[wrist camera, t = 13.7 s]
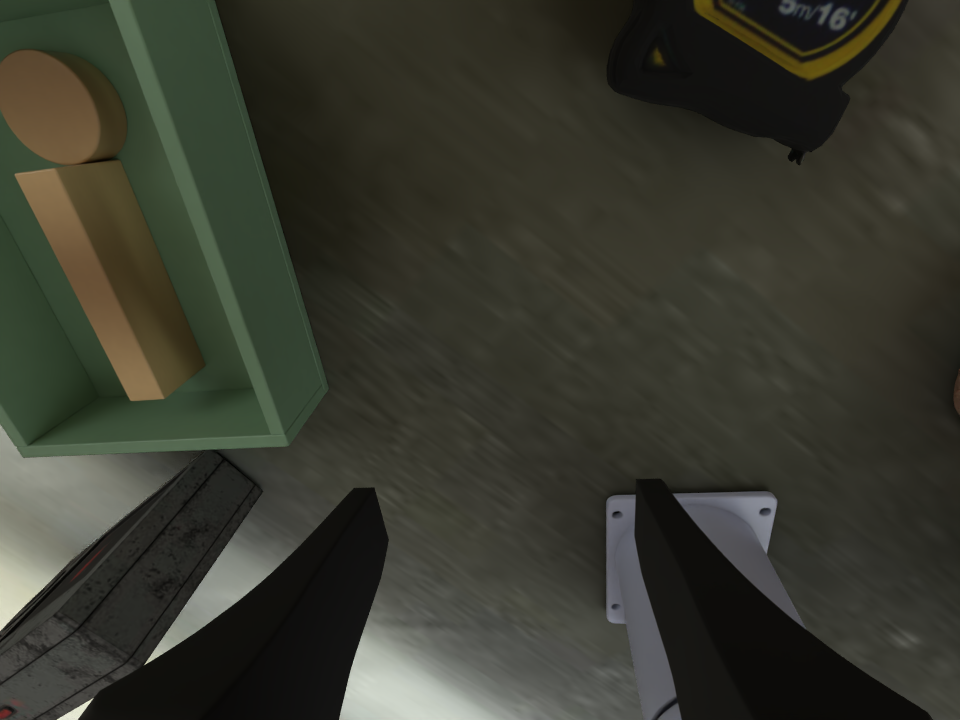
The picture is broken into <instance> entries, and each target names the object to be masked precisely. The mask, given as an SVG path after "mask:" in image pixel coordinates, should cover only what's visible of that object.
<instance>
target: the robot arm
mask: <svg viewBox="0 0 960 720" xmlns="http://www.w3.org/2000/svg"><path fill="white" fill-rule="evenodd" d="M776 507H777V499H776V498H775V496H774V495H773V493H771V492H768V491H751V492H714V493H677V494H672V492H671V491H670V490H669V488H668V487H667V485H666V484H665V483H664V482H663V481H662V480H661V479H636V495H614V496H611V497H609V498H608V499H607V502H606V614H607V619H608V620H609V621H610V622H612V623H626V627H627V632H628V637H629V643H630V648H631V653H632V659H633V664H634V669H635V675H636V680H637V685H638V691H639V696H640V701H641V707H642V712H643V717H644V720H933V719H932V718H931V716H930V715H929V714H928V712H926V711H925V710H923V709H921V708H920V707H918V706H917V705H915V704H913V703H912V702H910V701H909V700H907V699H906V698H904V697H902V696H901V695H899V694H898V693H896V692H894V691H893V690H891V689H890V688H888V687H887V686H885V685H883V684H882V683H880V682H879V681H877V680H875V679H874V678H872V677H871V676H869V675H868V674H866V673H865V672H863V671H862V670H860V669H859V668H858V667H856V666H855V665H853V664H852V663H850V662H849V661H848V660H846V659H845V658H843V657H842V656H840V655H839V654H838V653H836V652H835V651H833V650H832V649H831V648H829V647H828V646H827V645H826V644H824V643H823V642H822V641H820V640H819V639H818V638H816V637H815V636H814V635H813V634H811V633H810V632H809V631H807V630H806V628H805V626H804V624H803V622H802V620H801V619H800V617H799V615H798V613H797V611H796V609H795V607H794V605H793V603H792V602H791V600H790V598H789V596H788V594H787V592H786V590H785V588H784V586H783V585H782V583H781V581H780V579H779V577H778V575H777V573H776V571H775V569H774V568H773V566H772V564H771V562H770V560H769V558H768V556H767V551H768V546H769V541H770V536H771V531H772V526H773V521H774V517H775V512H776ZM763 508H765V509H764V510H761V509H763ZM616 511H620V512H619V513H614V512H616ZM388 541H389V539H388V535H387V532H386V528H385V525H384V521H383V517H382V514H381V510H380V506H379V503H378V499H377V495H376V492H375V488H354V489H353V490H352V491H351V492H350V493H349V494H348V495H347V496H346V497H345V498H344V499H343V500H342V501H341V502H340V503H339V505H338V506H337V507H336V508H335V509H334V510H333V511H332V512H331V513H330V514H329V515H328V517H327V518H326V519H325V520H324V521H323V522H322V523H321V524H320V525H319V526H318V527H317V528H316V529H315V530H314V531H313V533H312V534H311V535H310V536H309V537H308V538H307V539H306V540H305V541H304V542H303V543H302V544H301V545H300V546H299V547H298V548H297V549H296V550H295V551H294V552H293V553H292V554H291V555H290V556H289V557H288V558H287V559H286V560H285V561H284V562H283V563H282V564H280V565H279V566H278V567H277V568H276V569H275V570H274V571H273V572H272V573H271V574H270V575H269V576H268V577H266V578H265V579H264V580H263V581H262V582H261V583H260V584H258V585H257V586H256V587H255V588H254V589H252V590H251V591H250V592H249V593H248V594H246V595H245V596H244V597H243V598H242V599H240V600H239V601H238V602H237V603H235V604H234V605H233V606H231V607H230V608H229V609H227V610H226V611H225V612H223V613H222V614H220V615H219V616H218V617H216V618H215V619H214V620H212V621H211V622H210V623H208V624H207V625H206V626H204V627H203V628H202V629H200V630H199V631H197V632H196V633H194V634H193V635H191V636H190V637H188V638H187V639H185V640H184V641H182V642H181V643H179V644H178V645H176V646H175V647H173V648H171V649H170V650H168V651H167V652H165V653H164V654H162V655H160V656H159V657H157V658H156V659H154V660H152V661H151V662H149V663H147V664H146V665H144V666H142V667H140V668H139V669H137V670H135V671H133V672H132V673H130V674H128V675H126V676H125V677H123V678H121V679H119V680H118V681H116V682H114V683H112V684H111V685H109V686H107V687H105V688H103V689H101V690H100V691H99V692H98V693H97V695H96V696H95V697H94V698H93V700H92V701H91V703H90V704H89V705H88V707H87V708H86V709H85V711H84V712H83V713H82V715H81V716H80V718H79V719H78V720H339V717H340V712H341V708H342V704H343V700H344V695H345V691H346V687H347V683H348V678H349V674H350V670H351V667H352V664H353V660H354V657H355V653H356V651H357V648H358V645H359V642H360V639H361V636H362V633H363V630H364V627H365V624H366V621H367V618H368V615H369V612H370V609H371V606H372V603H373V600H374V597H375V594H376V591H377V588H378V585H379V582H380V579H381V576H382V571H383V567H384V562H385V557H386V552H387V546H388Z"/></svg>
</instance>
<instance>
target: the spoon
mask: <svg viewBox="0 0 960 720" xmlns="http://www.w3.org/2000/svg"><path fill="white" fill-rule="evenodd" d="M0 110H1V112H2V115H3V117H4V119H5V120H6V122H7V124H8V125H9V127H10V128H11V130H12V131H13V133H14V134H15V135H16V136H17V138H18V139H19V140H20V141H21V142H22V143H23V144H24V145H25V146H26V147H28V148H29V149H30V150H31V151H33V152H34V153H35V154H37V155H39V156H40V157H42V158H44V159H46V160H48V161H51V162H53V163H56V164H61V165H68V166H65V167H58V168H50V169H43V170H35V171H28V172H20V173H16V174H15V177H16V179H17V181H18V183H19V185H20V187H21V189H22V191H23V193H24V195H25V197H26V199H27V201H28V203H29V204H30V206H31V208H32V210H33V212H34V214H35V216H36V218H37V220H38V222H39V224H40V226H41V228H42V230H43V232H44V234H45V236H46V238H47V240H48V241H49V243H50V245H51V247H52V249H53V251H54V253H55V255H56V257H57V259H58V261H59V263H60V265H61V267H62V269H63V271H64V273H65V275H66V277H67V278H68V280H69V282H70V284H71V286H72V288H73V290H74V292H75V294H76V296H77V298H78V300H79V302H80V304H81V306H82V308H83V310H84V312H85V314H86V315H87V317H88V319H89V321H90V323H91V325H92V327H93V329H94V331H95V333H96V335H97V337H98V339H99V341H100V343H101V345H102V347H103V349H104V351H105V352H106V354H107V356H108V358H109V360H110V362H111V364H112V366H113V368H114V370H115V372H116V374H117V376H118V378H119V380H120V382H121V384H122V386H123V388H124V390H125V391H126V393H127V395H128V397H129V399H130V401H142V400H158V399H165V398H166V397H168V396H169V395H170V394H171V393H173V392H174V391H175V390H176V389H177V388H179V387H180V386H181V385H182V384H184V383H185V382H186V381H187V380H189V379H190V378H191V377H192V376H194V375H195V374H196V373H197V372H199V371H200V370H201V369H202V368H203V367H205V366H206V365H205V362H204V360H203V357H202V355H201V353H200V350H199V348H198V345H197V343H196V341H195V338H194V336H193V333H192V331H191V329H190V326H189V324H188V321H187V319H186V317H185V314H184V312H183V309H182V307H181V304H180V302H179V300H178V297H177V295H176V292H175V290H174V288H173V285H172V283H171V280H170V278H169V276H168V273H167V271H166V268H165V266H164V264H163V261H162V259H161V256H160V254H159V252H158V249H157V247H156V244H155V242H154V240H153V237H152V235H151V232H150V230H149V228H148V225H147V223H146V220H145V218H144V216H143V213H142V211H141V208H140V206H139V204H138V201H137V199H136V196H135V194H134V192H133V189H132V187H131V184H130V182H129V180H128V177H127V175H126V172H125V170H124V168H123V165H122V163H121V161H120V160H111V161H106V160H109V159H111V158H113V157H114V156H115V155H117V154H118V153H119V151H120V150H121V149H122V147H123V145H124V143H125V140H126V136H127V118H126V113H125V109H124V106H123V104H122V101H121V99H120V97H119V95H118V93H117V91H116V90H115V88H114V87H113V85H112V84H111V82H110V81H109V80H108V79H107V78H106V76H105V75H104V74H103V73H102V72H101V71H100V70H98V69H97V68H96V67H95V66H94V65H92V64H91V63H89V62H88V61H86V60H84V59H82V58H80V57H78V56H76V55H73V54H69V53H64V52H55V51H47V50H38V49H20V50H16V51H14V52H12V53H10V54H8V55H7V56H6V57H5V58H4V59H3V60H2V61H1V63H0ZM102 161H103V162H102ZM70 165H73V166H70Z"/></svg>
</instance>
